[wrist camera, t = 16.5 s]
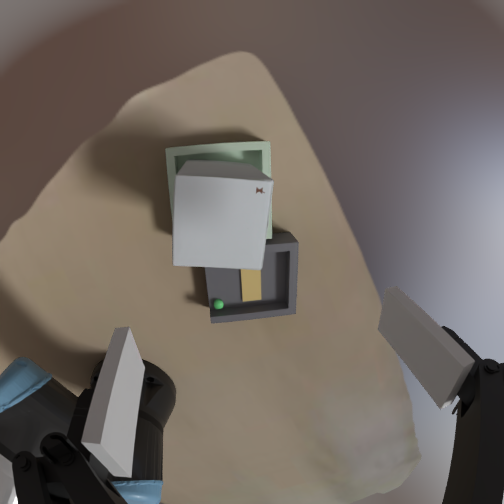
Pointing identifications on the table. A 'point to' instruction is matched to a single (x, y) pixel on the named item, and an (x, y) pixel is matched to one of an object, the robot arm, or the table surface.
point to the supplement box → (220, 215)
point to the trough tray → (228, 151)
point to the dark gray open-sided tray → (256, 285)
